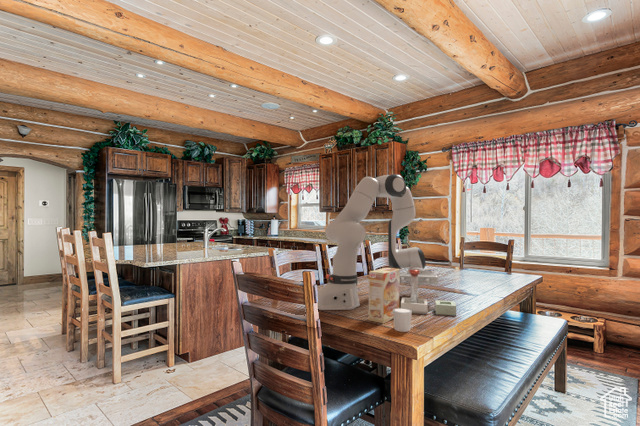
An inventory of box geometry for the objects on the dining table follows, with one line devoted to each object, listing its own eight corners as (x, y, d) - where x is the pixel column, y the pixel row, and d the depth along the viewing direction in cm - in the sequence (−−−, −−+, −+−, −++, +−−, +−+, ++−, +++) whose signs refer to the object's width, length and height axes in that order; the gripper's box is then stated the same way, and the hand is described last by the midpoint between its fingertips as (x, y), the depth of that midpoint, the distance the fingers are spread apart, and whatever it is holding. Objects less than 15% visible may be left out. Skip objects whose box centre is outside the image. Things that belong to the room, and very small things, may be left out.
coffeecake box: (384, 324, 136) (384, 273, 136) (367, 320, 140) (367, 271, 141) (400, 315, 148) (400, 268, 148) (384, 312, 152) (384, 267, 153)
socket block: (436, 314, 150) (435, 304, 150) (435, 309, 158) (435, 300, 158) (456, 315, 148) (456, 305, 148) (454, 310, 155) (454, 301, 155)
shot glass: (410, 333, 125) (410, 313, 125) (391, 331, 128) (391, 311, 128) (412, 327, 132) (413, 308, 132) (394, 325, 134) (394, 307, 134)
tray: (400, 312, 153) (400, 302, 153) (402, 305, 163) (402, 297, 163) (427, 314, 150) (427, 304, 150) (427, 307, 160) (427, 298, 160)
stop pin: (412, 309, 154) (412, 271, 154) (407, 306, 158) (407, 269, 158) (421, 308, 155) (421, 270, 155) (416, 306, 159) (416, 269, 160)
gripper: (394, 269, 177) (391, 273, 164) (437, 271, 171) (438, 275, 158) (394, 281, 177) (391, 287, 164) (437, 284, 171) (438, 290, 158)
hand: (414, 281), depth 161 cm, fingers open, 8 cm apart
